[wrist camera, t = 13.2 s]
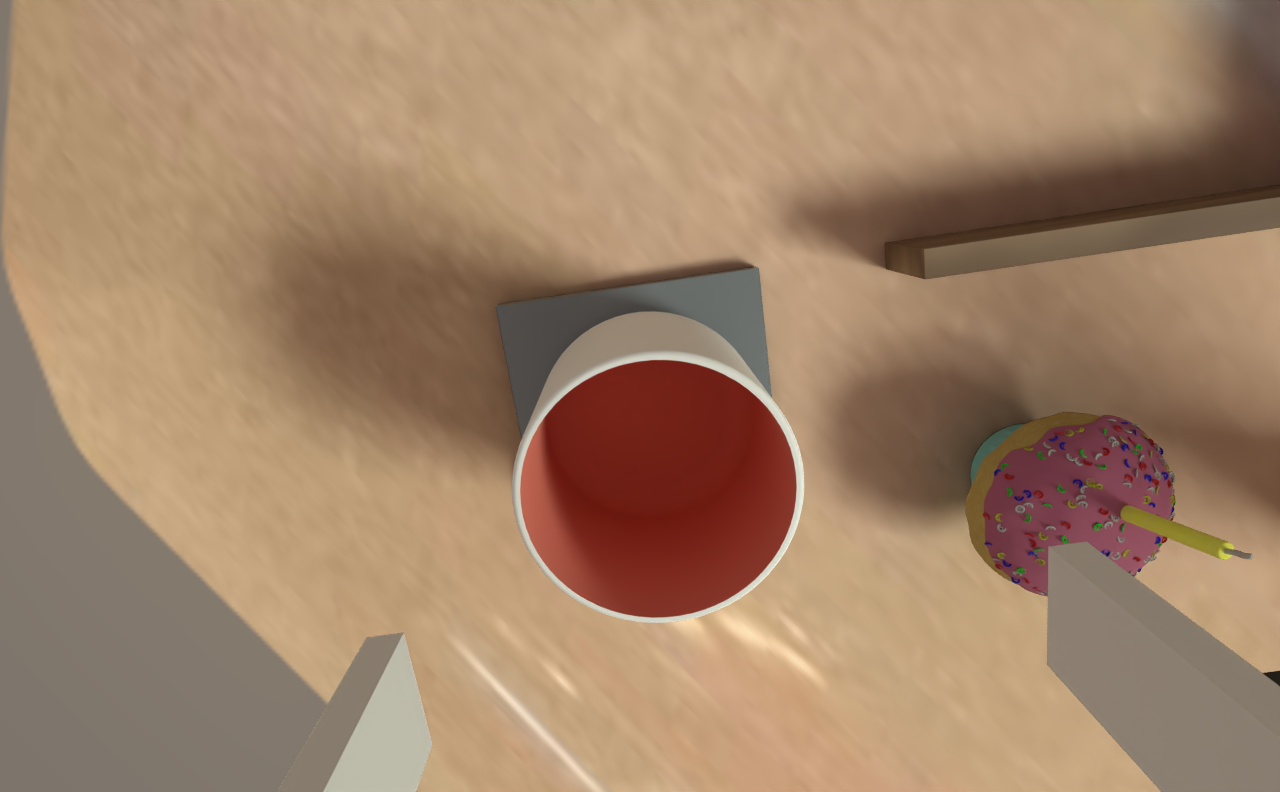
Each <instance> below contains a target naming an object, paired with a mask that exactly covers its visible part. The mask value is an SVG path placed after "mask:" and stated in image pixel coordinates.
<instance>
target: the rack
mask: <svg viewBox="0 0 1280 792" xmlns="http://www.w3.org/2000/svg"><path fill="white" fill-rule="evenodd" d="M1273 228H1280V185H1276V186H1269V187H1263V188H1256V189H1249V190H1242V191H1235V192H1229V193H1222V194H1215V195H1208V196H1201V197H1195V198H1188V199H1181V200H1174V201H1167V202H1161V203H1154V204H1147V205H1140V206H1133V207H1127V208H1120V209H1113V210H1106V211H1099V212H1093V213H1086V214H1079V215H1072V216H1065V217H1059V218H1052V219H1045V220H1038V221H1031V222H1025V223H1018V224H1011V225H1004V226H997V227H991V228H984V229H977V230H970V231H964V232H957V233H950V234H943V235H936V236H930V237H923V238H916V239H909V240H902V241H896V242H889V243H885V253H886V269H887V270H891V271H895V272H899V273H903V274H907V275H911V276H915V277H918V278H922V279H931V278H938V277H945V276H951V275H958V274H965V273H972V272H979V271H986V270H992V269H999V268H1006V267H1013V266H1020V265H1027V264H1033V263H1040V262H1047V261H1054V260H1061V259H1068V258H1074V257H1081V256H1088V255H1095V254H1102V253H1109V252H1115V251H1122V250H1129V249H1136V248H1143V247H1150V246H1156V245H1163V244H1170V243H1177V242H1184V241H1191V240H1197V239H1204V238H1211V237H1218V236H1225V235H1232V234H1239V233H1245V232H1252V231H1259V230H1266V229H1273Z"/></svg>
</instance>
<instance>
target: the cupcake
mask: <svg viewBox="0 0 1280 792" xmlns="http://www.w3.org/2000/svg"><path fill="white" fill-rule="evenodd" d="M1140 428H1141V427H1140V426H1139V425H1136V424H1133V423H1131V422H1129V421H1127V420H1124V419H1122V418H1119V417H1115V416H1111V415H1104V416H1101V417H1099V416H1095V415H1090V414H1083V413H1074V412H1063V413H1058V414H1055V415H1052V416H1049V417H1044V418H1040V419H1037V420H1034V421H1031V422H1028V423H1026V424H1017V425H1012V426H1009V427H1006V428H1004V429H1001V430H999V431H998V432H996V433H994V434H993V435H992V436H990V437H989V438H988V439H987V440H986V441H985V442H984V443H983V444H982V445H981V447H980V448H979V449H978V451H977V453H976V455H975V457H974V459H973V462H972V466H971V484H972V486H971V488H970V490H969V493H968V495H967V498H966V503H965V512H966V516H967V520H968V525H969V531H970V537H971V541H972V544H973V546H974V548H975V549H976V551H977V552H978V553H979V555H980V556H981V557H982V559H983V560H984V561H985V562H986V563H987V564H988V565H989V566H990V567H991V568H992V569H993V570H994V571H995V572H997V573H998V574H999V575H1001V576H1002V577H1004V578H1005V579H1007V580H1009V581H1011V582H1013V583H1015V584H1018V585H1020V586H1021V587H1022V588H1024V589H1026V590H1028V591H1030V592H1033V593H1036V594H1039V595H1043V596H1048V547H1050V546H1057V545H1065V544H1072V543H1080V542H1088V543H1089V544H1091V545H1092V546H1093V547H1095V548H1096V549H1097V550H1099V551H1100V552H1101V553H1103V554H1104V555H1105V556H1107V557H1108V558H1109V559H1111V560H1112V561H1113V562H1115V563H1116V564H1117V565H1119V566H1120V567H1121V568H1123V569H1124V570H1125V571H1127V572H1128V573H1129V574H1131V575H1132V576H1133V577H1135V576H1136V575H1137V571H1138V572H1140V571H1141V568H1142V567H1143V566H1144V565H1146V564H1147V563H1148V562H1149V561H1153V560H1155V559H1156V556H1154V555H1155V554H1157V553H1158V552H1160V551H1159V548H1160V546H1161V545H1162V543H1164V542H1166V541H1167V538H1170V539H1172V540H1174V541H1177V542H1179V543H1182V544H1184V545H1187V546H1189V547H1192V548H1194V549H1197V550H1199V551H1202V552H1204V553H1207V554H1209V555H1212V556H1214V557H1217V558H1219V559H1223V560H1225V559H1228V558H1230V557H1231V556H1232V555H1235V556H1238V557H1240V558H1243V559H1252V558H1253V554H1249V553H1243V552H1241V551H1238V550H1234V547H1233V545H1232V544H1231V543H1229V542H1227V541H1224V540H1222V539H1219V538H1216V537H1214V536H1211V535H1208V534H1206V533H1203V532H1200V531H1197V530H1195V529H1192V528H1189V527H1187V526H1184V525H1181V524H1179V523H1176V522H1173V521H1172V520H1173V516H1175V514H1172V513H1173V511H1174V505H1175V496H1174V489H1173V487H1172V483H1173V482H1174V481H1175V477H1174V475H1173V472H1169V467H1168V465H1167V461H1166V460H1165V459H1164V458H1163V457H1162V454H1163V450H1162V448H1160V447H1159V446H1158V445H1157V444H1156V443H1154V442H1153V440H1152V439H1150V438H1149V437H1148V436H1147V435H1146V434H1145V433H1144V432H1143V431H1142V430H1141V429H1140ZM1156 446H1157V447H1156ZM1159 449H1160V450H1161V451H1160V450H1159ZM1160 452H1161V453H1160ZM1172 477H1173V479H1172ZM1171 479H1172V480H1171ZM1163 540H1164V541H1163ZM1153 557H1154V558H1153ZM1133 574H1134V575H1133Z"/></svg>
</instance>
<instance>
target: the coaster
mask: <svg viewBox="0 0 1280 792" xmlns="http://www.w3.org/2000/svg"><path fill="white" fill-rule="evenodd" d="M496 311H497V316H498V321H499V326H500V331H501V336H502V341H503V347H504V352H505V357H506V362H507V367H508V372H509V377H510V382H511V387H512V392H513V398H514V403H515V408H516V413H517V418H518V423H519V428H520V433H521V438H522V437H523V435H524V433H525V430H526V428H527V425H528V423H529V421H530V418H531V416H532V414H533V411H534V409H535V407H536V404H537V402H538V400H539V397H540V395H541V393H542V390H543V388H544V386H545V383H546V381H547V379H548V376H549V374H550V372H551V370H552V369H553V367H554V365H555V363H556V362H557V360H558V359H559V357H560V356H561V355H562V354H563V352H564V351H565V350H566V349H567V348H568V347H569V346H570V345H571V344H572V343H573V342H574V341H575V340H576V339H577V338H578V337H579V336H581V335H582V334H583V333H585V332H586V331H588V330H589V329H591V328H592V327H594V326H596V325H598V324H600V323H602V322H604V321H606V320H609V319H611V318H614V317H617V316H621V315H625V314H629V313H636V312H651V311H655V312H666V313H672V314H677V315H681V316H684V317H687V318H690V319H693V320H695V321H697V322H699V323H702V324H704V325H706V326H707V327H709V328H710V329H712V330H714V331H715V332H717V333H718V334H719V335H720V336H722V337H723V338H724V339H725V340H726V341H727V342H728V343H729V344H730V345H731V346H732V347H733V348H734V349H735V350H736V351H737V352H738V354H739V355H740V356H741V358H742V359H743V360H744V362H745V363H746V364H747V366H748V367H749V368H750V370H751V371H752V372H753V374H754V375H755V376H756V378H757V379H758V380H759V382H760V383H761V384H762V386H763V387H764V388H765V390H766V391H767V392H768V394H769V395H770V396H771V398H772V395H771V385H770V375H769V365H768V355H767V345H766V335H765V325H764V315H763V305H762V295H761V285H760V275H759V268H758V267H749V268H742V269H735V270H728V271H722V272H715V273H708V274H701V275H694V276H688V277H681V278H674V279H667V280H660V281H654V282H647V283H640V284H633V285H626V286H620V287H613V288H606V289H599V290H592V291H586V292H579V293H572V294H565V295H558V296H552V297H545V298H538V299H531V300H524V301H518V302H511V303H504V304H498V305H497V306H496Z"/></svg>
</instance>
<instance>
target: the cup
mask: <svg viewBox="0 0 1280 792" xmlns="http://www.w3.org/2000/svg"><path fill="white" fill-rule="evenodd" d="M803 497H804V471H803V464H802V458H801V454H800V450H799V446H798V443H797V440H796V438H795V435H794V433H793V431H792V428H791V427H790V425H789V423H788V421H787V419H786V418H785V416H784V414H783V413H782V411H781V410H780V408H779V407H778V406H777V404H776V403H775V402H774V400H773V399H772V398H771V396H770V395H769V394H768V392H767V391H766V390H765V388H764V387H763V386H762V384H761V383H760V382H759V380H758V379H757V378H756V376H755V375H754V374H753V372H752V371H751V370H750V368H749V367H748V366H747V364H746V363H745V362H744V360H743V359H742V358H741V356H740V355H739V354H738V352H737V351H736V350H735V349H734V348H733V347H732V346H731V345H730V344H729V343H728V342H727V341H726V340H725V339H724V338H723V337H722V336H720V335H719V334H718V333H717V332H715V331H714V330H712V329H710V328H709V327H707V326H706V325H704V324H702V323H699V322H697V321H695V320H693V319H690V318H687V317H684V316H681V315H677V314H672V313H666V312H655V311H651V312H636V313H629V314H625V315H621V316H617V317H614V318H611V319H609V320H606V321H604V322H602V323H600V324H598V325H596V326H594V327H592V328H591V329H589V330H588V331H586V332H585V333H583V334H582V335H581V336H579V337H578V338H577V339H576V340H575V341H574V342H573V343H572V344H571V345H570V346H569V347H568V348H567V349H566V350H565V351H564V352H563V354H562V355H561V356H560V357H559V359H558V360H557V362H556V363H555V365H554V367H553V369H552V370H551V372H550V374H549V376H548V379H547V381H546V383H545V386H544V388H543V390H542V393H541V395H540V397H539V400H538V402H537V404H536V407H535V409H534V411H533V414H532V416H531V418H530V421H529V423H528V425H527V428H526V430H525V433H524V435H523V437H522V440H521V442H520V445H519V448H518V451H517V454H516V458H515V463H514V469H513V477H512V499H513V507H514V513H515V517H516V521H517V525H518V528H519V531H520V534H521V537H522V539H523V541H524V543H525V545H526V547H527V549H528V551H529V553H530V554H531V556H532V558H533V559H534V560H535V562H536V563H537V564H538V566H539V567H540V568H541V570H542V571H543V573H544V574H545V575H546V576H547V577H548V578H549V579H550V580H551V581H552V582H553V583H554V584H555V585H556V586H558V587H559V588H560V589H561V590H562V591H563V592H565V593H566V594H568V595H569V596H570V597H572V598H573V599H575V600H576V601H578V602H580V603H582V604H583V605H585V606H587V607H589V608H591V609H593V610H596V611H598V612H601V613H603V614H606V615H609V616H613V617H616V618H620V619H624V620H630V621H636V622H648V623H664V622H675V621H683V620H688V619H692V618H696V617H700V616H703V615H706V614H709V613H712V612H714V611H717V610H719V609H721V608H723V607H725V606H727V605H729V604H731V603H733V602H734V601H736V600H738V599H740V598H741V597H743V596H744V595H745V594H747V593H748V592H749V591H751V590H752V589H753V588H754V587H756V586H757V585H758V584H759V583H760V582H761V581H762V580H763V579H764V578H765V577H766V576H767V575H768V574H769V573H770V572H771V571H772V570H773V568H774V567H775V566H776V565H777V563H778V562H779V560H780V559H781V557H782V556H783V555H784V553H785V551H786V549H787V548H788V546H789V544H790V542H791V540H792V538H793V535H794V533H795V531H796V528H797V525H798V522H799V518H800V514H801V510H802V504H803Z"/></svg>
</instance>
